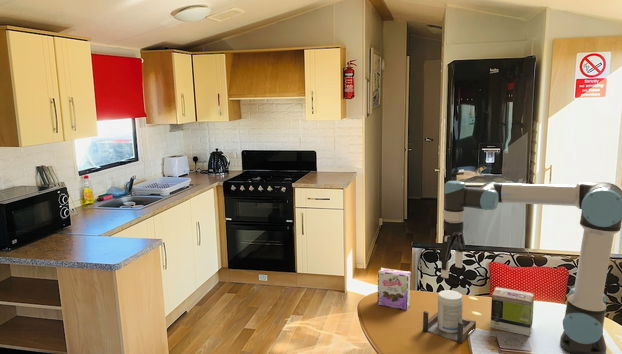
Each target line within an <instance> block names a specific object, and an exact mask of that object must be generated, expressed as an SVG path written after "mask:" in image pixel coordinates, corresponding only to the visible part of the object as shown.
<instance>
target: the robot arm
mask: <svg viewBox="0 0 622 354" xmlns="http://www.w3.org/2000/svg"><path fill="white" fill-rule="evenodd" d="M443 194H444V195H443V201H444V202H443V211H442V213H443V219H444V220H443V230H444V231H445V232H446V235H443V237H442V242H441V248H440V252H439V256H438V262H441V265H440V266H441V267H440V268H441V269H440V270H441V271H440V277H441V278H444V279H449V273H450V272H449V269H450V262H449V258H450V256H451V252H452V249H453V248H454V247H455V249H456V251H455V260H454V261H455V262H454V264H455V265H454V267H456V268H458V269H459V268H460V269H462V268H463V258H464V253H465V252H466V243H465V238H464V237H465V236H464V219H465V208H470V209H478V210H483V211H484V210H485V211H494V210H496V209H497V208H498V205H499V203H500V204H503V203H504V204H508V203H509V204H521V205H522V204H526V205H546V206H547V205H548V206H567V207H576V208H577V209H578V210H581V213H580V220H579V225H580V226H581V227H582V229H583V233H582V234H583V235H582V239H581V240H582V241H581V245H580V246H581V247H580V250H579V251H580V252H579V256H578V257H579V259H578V265H577V271H576V276H575V283H574V287H572V288H570V290H569V294H568V295H569V296H568V297H567V301H566V307H565V312H564V318H563V319H562V329H563V331H562V334H561V335H560V339H559V345H560V346H561V348H562V349H564V350H565V351H566V352H568V353H569V354H607V344H606V341H605V336H604V322H605V318H606V317H605V316H606V312H607V305H606V304H607V296H606V294H605V293H604V292H605V286H606V283H607V282H606V281H607V276H608V271H609V265H610V264H609V263H610V259H611V254H612V246H613V241H614V235H616V234H617V233H619V232H620V231H621V228H622V189H621V188H620V187H619V186H618V185H616V184H614V183H611V182H606V181H605V182H604V181H602V182H599V181H598V182H596V181H595V182H579V183H577V184H575V185H574V184H573V185H572V184H571V185H570V184H541V183H540V184H536V183H535V184H533V183H532V184H530V183H497V182H496V181H488V182H485V183H484V184H482V185H481V186H480V187H479V188H474V187H466V183H465V181H462V180H448V181H446V182H445V183H444V191H443Z"/></svg>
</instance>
